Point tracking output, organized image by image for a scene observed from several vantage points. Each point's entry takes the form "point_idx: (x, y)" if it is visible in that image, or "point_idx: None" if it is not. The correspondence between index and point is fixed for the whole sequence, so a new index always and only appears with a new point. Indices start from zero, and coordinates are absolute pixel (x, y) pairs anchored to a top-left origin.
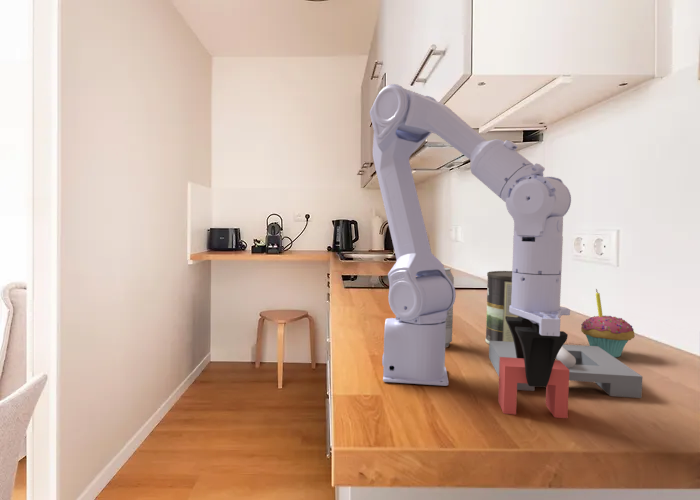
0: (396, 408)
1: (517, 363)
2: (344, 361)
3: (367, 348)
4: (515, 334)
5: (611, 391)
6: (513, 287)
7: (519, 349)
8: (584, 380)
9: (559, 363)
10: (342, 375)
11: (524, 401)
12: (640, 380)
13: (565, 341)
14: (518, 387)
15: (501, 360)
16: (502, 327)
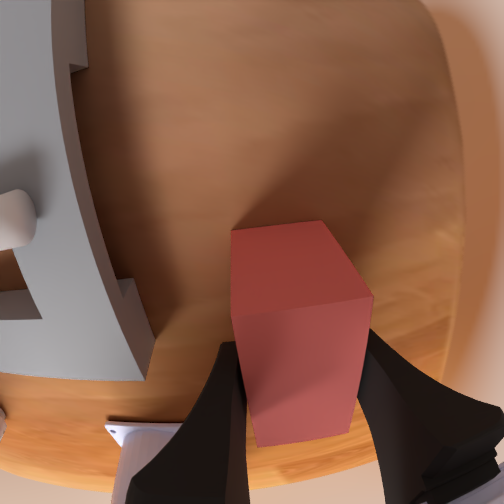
0: (323, 447)
1: (317, 419)
2: None
3: (81, 474)
4: (248, 494)
5: (82, 62)
6: None
7: (244, 442)
8: (79, 148)
9: (286, 322)
10: None
11: (228, 306)
12: None
13: (494, 406)
14: (145, 318)
15: (291, 442)
16: None
